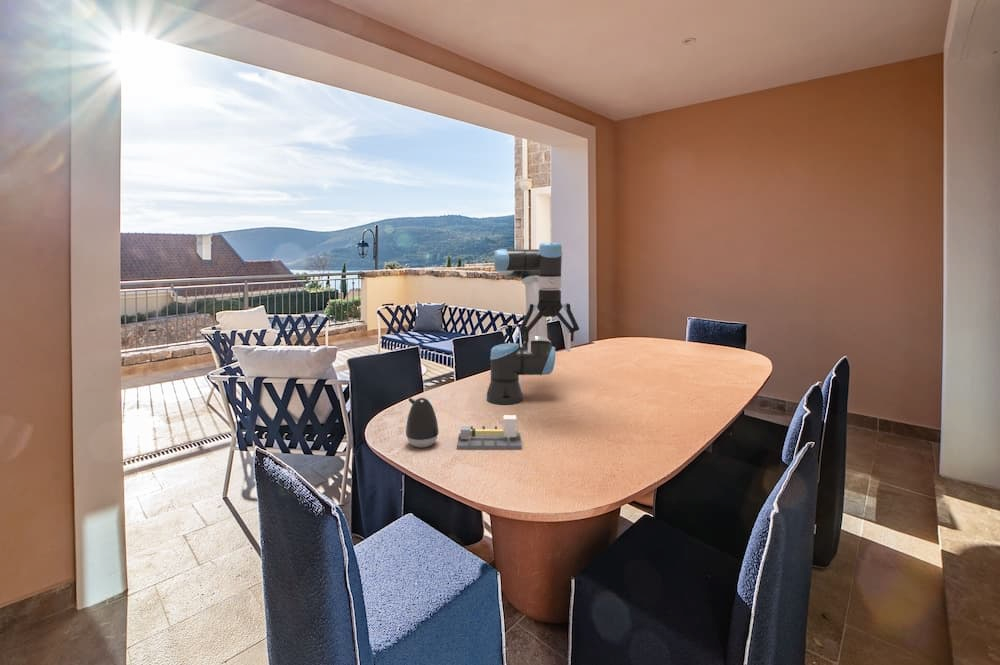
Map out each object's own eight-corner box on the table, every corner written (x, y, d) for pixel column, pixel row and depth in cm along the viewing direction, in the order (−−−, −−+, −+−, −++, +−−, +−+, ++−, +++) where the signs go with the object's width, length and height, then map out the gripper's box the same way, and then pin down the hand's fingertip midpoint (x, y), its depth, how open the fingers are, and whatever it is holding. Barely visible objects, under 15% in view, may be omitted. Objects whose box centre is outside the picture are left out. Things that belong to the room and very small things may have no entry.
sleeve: (503, 436, 153) (503, 419, 152) (503, 432, 157) (503, 415, 156) (516, 436, 153) (516, 419, 152) (515, 432, 157) (515, 415, 156)
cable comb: (456, 449, 150) (456, 434, 149) (459, 436, 161) (459, 422, 160) (521, 449, 150) (521, 434, 149) (520, 436, 161) (520, 422, 160)
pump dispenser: (421, 436, 161) (420, 391, 159) (445, 443, 155) (444, 396, 153) (398, 446, 153) (397, 399, 150) (423, 453, 147) (422, 404, 145)
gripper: (514, 290, 159) (513, 353, 163) (589, 289, 161) (587, 352, 164) (511, 288, 167) (511, 349, 170) (583, 288, 169) (581, 348, 172)
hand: (548, 351), depth 167 cm, fingers open, 13 cm apart
